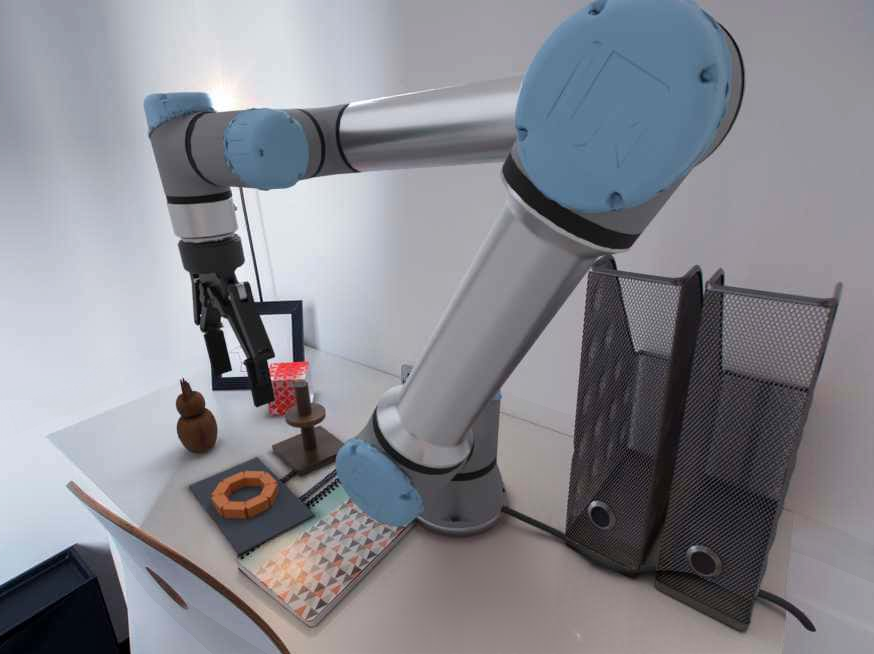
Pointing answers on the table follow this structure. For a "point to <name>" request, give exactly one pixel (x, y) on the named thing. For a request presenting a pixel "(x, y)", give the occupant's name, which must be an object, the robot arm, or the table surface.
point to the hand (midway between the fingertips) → (242, 387)
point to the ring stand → (307, 436)
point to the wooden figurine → (195, 421)
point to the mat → (260, 526)
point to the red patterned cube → (287, 384)
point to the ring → (251, 506)
